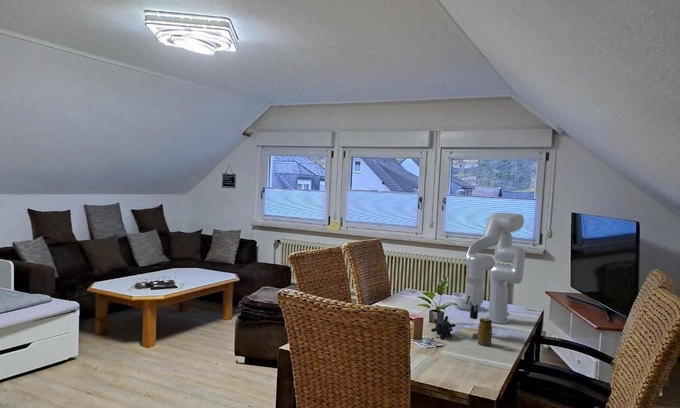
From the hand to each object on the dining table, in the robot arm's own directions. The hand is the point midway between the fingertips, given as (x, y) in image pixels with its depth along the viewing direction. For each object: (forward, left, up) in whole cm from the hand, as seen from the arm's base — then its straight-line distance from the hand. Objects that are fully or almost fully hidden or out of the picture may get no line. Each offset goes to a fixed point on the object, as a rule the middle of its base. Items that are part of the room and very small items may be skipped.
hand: (473, 318), depth 227 cm
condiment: (+10, +13, -8) cm, 18 cm away
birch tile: (-3, 0, -7) cm, 7 cm away
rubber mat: (0, 0, -8) cm, 8 cm away
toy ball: (+16, -6, -8) cm, 19 cm away
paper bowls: (-44, -33, -8) cm, 56 cm away
